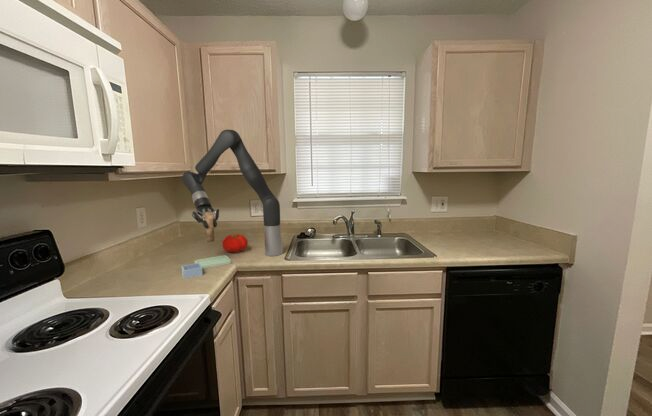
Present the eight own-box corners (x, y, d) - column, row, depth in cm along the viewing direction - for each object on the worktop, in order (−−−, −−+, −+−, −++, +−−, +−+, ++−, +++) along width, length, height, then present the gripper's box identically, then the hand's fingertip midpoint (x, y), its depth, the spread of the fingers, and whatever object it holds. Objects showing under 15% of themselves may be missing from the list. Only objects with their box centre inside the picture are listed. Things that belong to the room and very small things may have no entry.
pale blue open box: (200, 271, 132) (199, 262, 132) (202, 276, 126) (202, 267, 125) (182, 275, 128) (181, 265, 127) (184, 280, 122) (183, 270, 121)
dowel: (213, 239, 143) (212, 211, 141) (215, 241, 140) (213, 212, 138) (206, 240, 141) (204, 212, 139) (207, 242, 138) (205, 213, 136)
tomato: (243, 246, 176) (242, 231, 175) (251, 252, 162) (250, 236, 161) (219, 250, 168) (218, 234, 167) (226, 256, 155) (224, 239, 153)
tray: (226, 258, 151) (225, 254, 151) (231, 264, 141) (231, 260, 141) (194, 264, 143) (194, 260, 142) (197, 271, 133) (197, 267, 132)
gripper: (188, 197, 138) (198, 224, 131) (216, 195, 147) (227, 220, 140) (186, 207, 142) (195, 233, 135) (213, 204, 152) (223, 229, 145)
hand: (211, 226), depth 138 cm, fingers closed on dowel, 3 cm apart
